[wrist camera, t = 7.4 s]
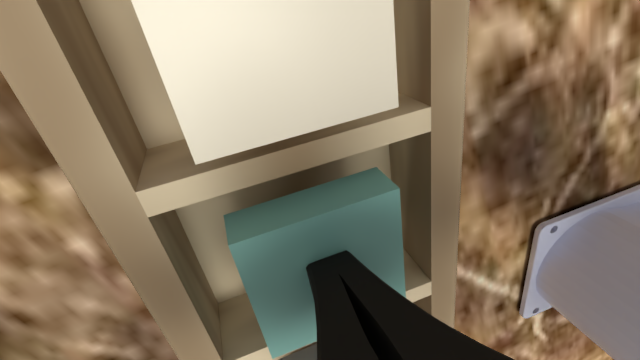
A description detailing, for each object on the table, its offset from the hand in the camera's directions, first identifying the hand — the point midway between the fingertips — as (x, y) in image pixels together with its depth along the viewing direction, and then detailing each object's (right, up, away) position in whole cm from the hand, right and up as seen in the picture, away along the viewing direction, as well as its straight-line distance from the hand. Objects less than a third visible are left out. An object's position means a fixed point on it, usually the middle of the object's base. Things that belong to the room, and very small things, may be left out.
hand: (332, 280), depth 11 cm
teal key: (-1, +1, +3) cm, 3 cm away
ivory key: (-2, +8, -1) cm, 8 cm away
